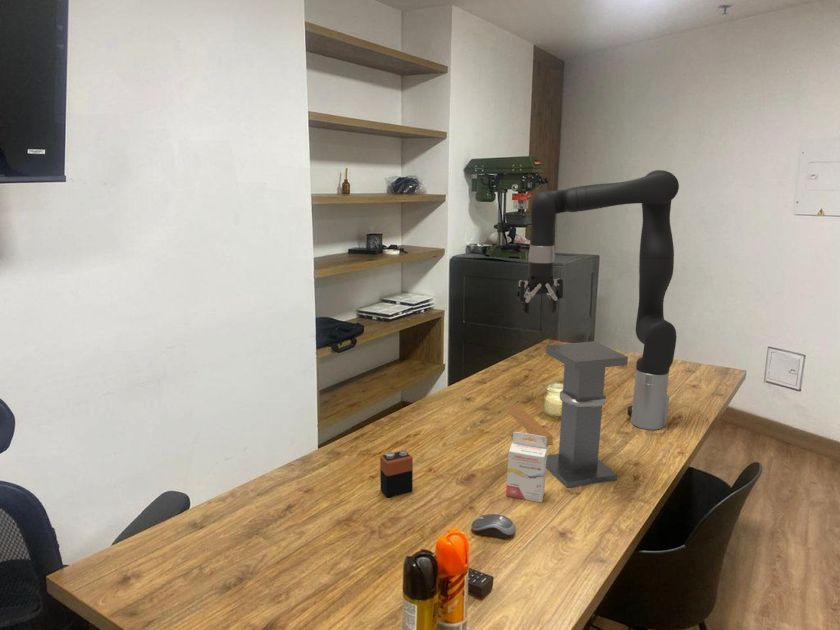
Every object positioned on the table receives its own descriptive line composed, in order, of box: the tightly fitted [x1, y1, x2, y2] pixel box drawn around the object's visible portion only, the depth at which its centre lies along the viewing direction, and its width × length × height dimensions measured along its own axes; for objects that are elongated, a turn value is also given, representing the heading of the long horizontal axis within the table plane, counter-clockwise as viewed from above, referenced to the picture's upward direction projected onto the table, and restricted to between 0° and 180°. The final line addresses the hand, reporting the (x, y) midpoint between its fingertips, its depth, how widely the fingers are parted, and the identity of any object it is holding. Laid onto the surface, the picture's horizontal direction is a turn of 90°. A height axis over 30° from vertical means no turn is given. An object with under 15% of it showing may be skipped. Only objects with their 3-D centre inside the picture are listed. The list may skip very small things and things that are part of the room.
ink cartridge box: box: [505, 431, 548, 503], centre depth 137 cm, size 9×5×15 cm, turn 71°
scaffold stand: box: [545, 341, 629, 489], centre depth 147 cm, size 14×14×32 cm
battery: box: [379, 449, 414, 498], centre depth 139 cm, size 4×7×10 cm, turn 117°
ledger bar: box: [507, 404, 554, 446], centre depth 176 cm, size 3×24×3 cm, turn 15°
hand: (538, 313), depth 178 cm, fingers open, 8 cm apart
